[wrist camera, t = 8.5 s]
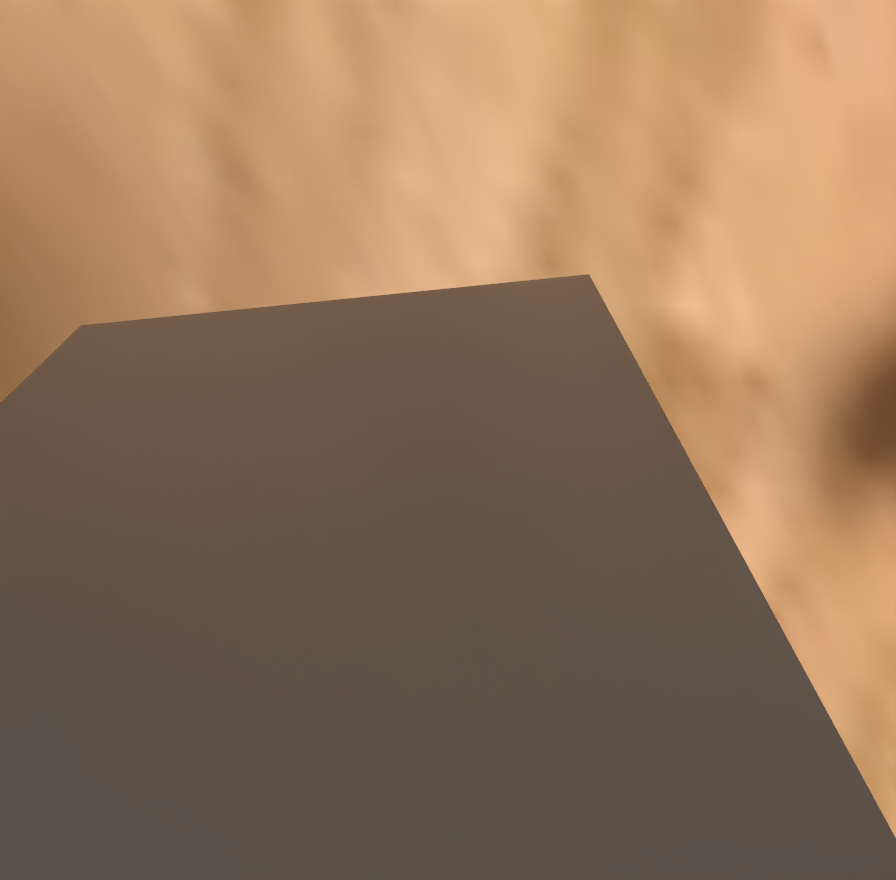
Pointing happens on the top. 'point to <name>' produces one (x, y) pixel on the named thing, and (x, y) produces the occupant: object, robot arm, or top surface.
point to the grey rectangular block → (392, 612)
